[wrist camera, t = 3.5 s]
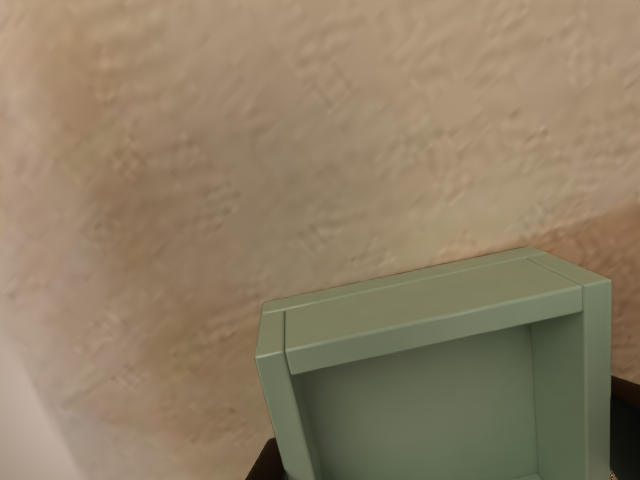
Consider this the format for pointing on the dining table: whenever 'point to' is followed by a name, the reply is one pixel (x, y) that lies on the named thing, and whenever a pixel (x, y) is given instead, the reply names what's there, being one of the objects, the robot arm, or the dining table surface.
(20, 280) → the dining table surface
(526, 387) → the celadon dish
